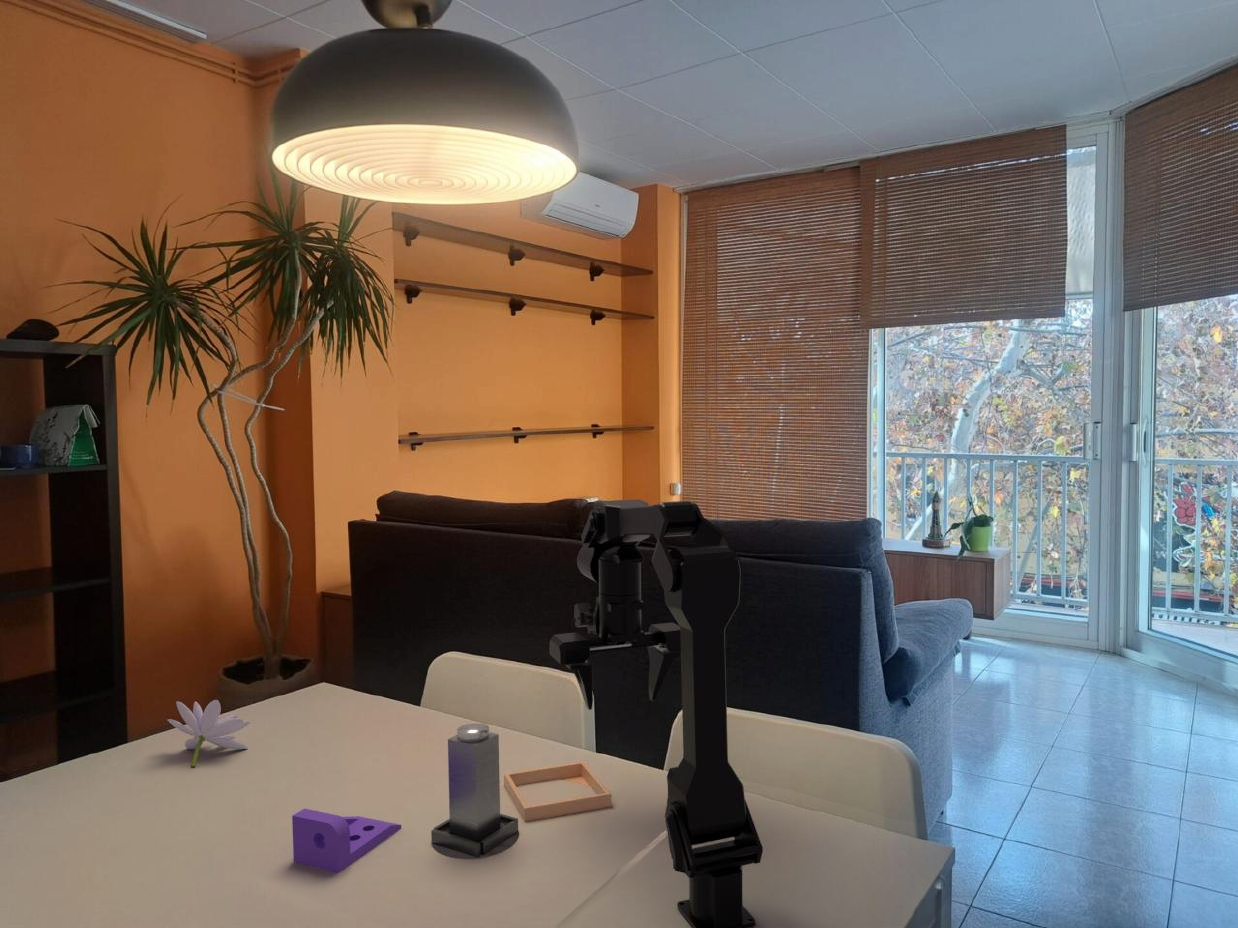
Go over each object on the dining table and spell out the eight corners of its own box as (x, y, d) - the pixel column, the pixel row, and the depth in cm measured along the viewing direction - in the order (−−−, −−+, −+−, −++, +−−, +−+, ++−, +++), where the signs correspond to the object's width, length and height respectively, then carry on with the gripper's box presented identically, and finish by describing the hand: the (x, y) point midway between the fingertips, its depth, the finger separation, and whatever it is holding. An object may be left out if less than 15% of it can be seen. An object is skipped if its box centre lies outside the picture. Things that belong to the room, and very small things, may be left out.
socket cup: (536, 834, 114) (535, 816, 113) (481, 873, 104) (481, 853, 104) (470, 816, 119) (470, 798, 119) (412, 850, 110) (412, 832, 110)
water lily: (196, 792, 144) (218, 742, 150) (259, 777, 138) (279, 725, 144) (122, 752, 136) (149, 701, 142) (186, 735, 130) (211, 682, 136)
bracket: (339, 881, 103) (337, 824, 103) (293, 870, 106) (292, 815, 106) (401, 836, 114) (400, 784, 114) (359, 827, 117) (357, 777, 117)
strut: (500, 833, 112) (498, 726, 112) (477, 848, 109) (475, 737, 108) (473, 825, 115) (471, 720, 114) (450, 840, 111) (447, 731, 110)
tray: (611, 811, 120) (611, 793, 120) (524, 826, 116) (524, 808, 116) (584, 777, 131) (583, 761, 131) (504, 790, 127) (503, 773, 127)
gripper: (659, 576, 130) (660, 679, 131) (537, 586, 123) (539, 695, 124) (691, 590, 120) (692, 702, 121) (560, 602, 113) (562, 720, 114)
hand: (621, 704), depth 120 cm, fingers open, 9 cm apart
